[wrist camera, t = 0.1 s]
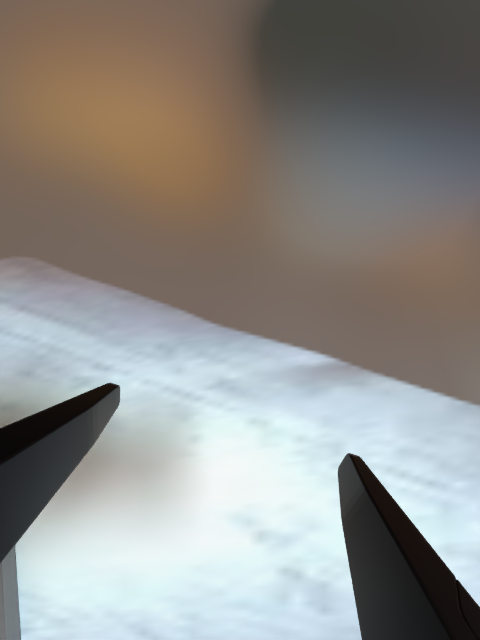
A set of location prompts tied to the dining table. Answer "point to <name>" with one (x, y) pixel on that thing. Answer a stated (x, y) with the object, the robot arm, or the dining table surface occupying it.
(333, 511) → the dining table surface
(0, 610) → the duct plate
